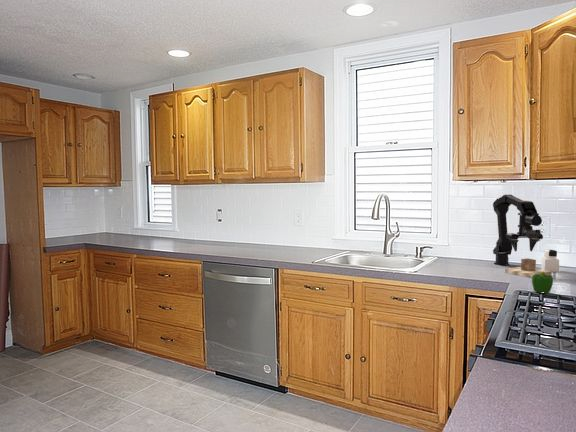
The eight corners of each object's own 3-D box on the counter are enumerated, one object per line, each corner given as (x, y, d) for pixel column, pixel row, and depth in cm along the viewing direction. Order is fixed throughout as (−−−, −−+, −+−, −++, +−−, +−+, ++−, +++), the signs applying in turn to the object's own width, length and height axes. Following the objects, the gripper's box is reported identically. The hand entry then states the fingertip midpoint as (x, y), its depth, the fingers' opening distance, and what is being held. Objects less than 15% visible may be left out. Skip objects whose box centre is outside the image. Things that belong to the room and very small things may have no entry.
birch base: (505, 272, 241) (505, 268, 241) (524, 269, 248) (524, 266, 248) (532, 278, 227) (532, 274, 227) (551, 275, 234) (551, 271, 234)
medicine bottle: (554, 269, 249) (555, 249, 248) (558, 272, 242) (560, 251, 241) (540, 269, 251) (541, 248, 250) (544, 271, 244) (545, 250, 243)
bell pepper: (534, 289, 204) (535, 268, 203) (554, 292, 198) (555, 270, 197) (528, 292, 198) (529, 270, 197) (549, 295, 192) (550, 273, 191)
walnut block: (520, 269, 239) (521, 258, 239) (527, 269, 241) (527, 258, 240) (528, 271, 234) (529, 260, 234) (535, 270, 236) (535, 259, 236)
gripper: (518, 225, 232) (516, 254, 234) (550, 225, 234) (548, 253, 236) (505, 223, 243) (504, 250, 245) (536, 222, 245) (535, 250, 247)
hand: (523, 251), depth 243 cm, fingers open, 9 cm apart
